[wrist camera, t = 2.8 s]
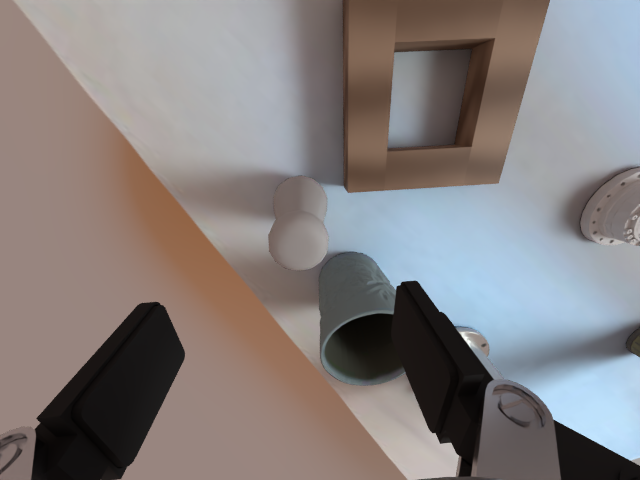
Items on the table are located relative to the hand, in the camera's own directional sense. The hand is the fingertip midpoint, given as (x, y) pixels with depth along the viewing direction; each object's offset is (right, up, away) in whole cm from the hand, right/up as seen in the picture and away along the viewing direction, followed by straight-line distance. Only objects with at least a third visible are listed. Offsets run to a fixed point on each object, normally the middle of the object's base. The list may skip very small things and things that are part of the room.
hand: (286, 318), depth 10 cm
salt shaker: (-1, +8, +18) cm, 20 cm away
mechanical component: (+40, +8, +21) cm, 46 cm away
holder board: (+12, +17, +14) cm, 25 cm away
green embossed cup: (+6, -2, +23) cm, 24 cm away
